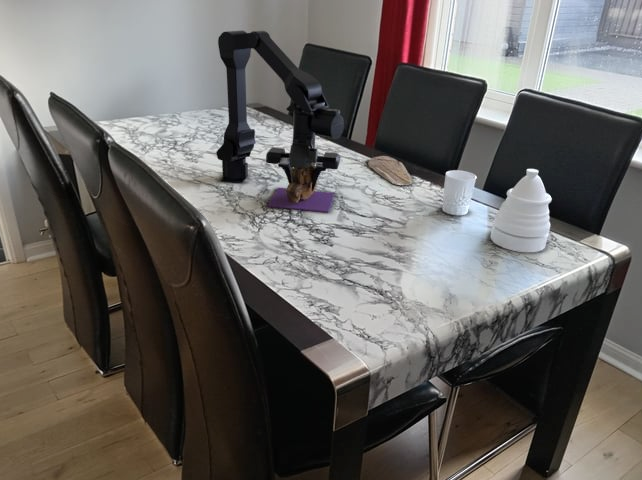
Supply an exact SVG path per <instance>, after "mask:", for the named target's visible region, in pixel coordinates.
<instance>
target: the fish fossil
mask: <svg viewBox="0 0 642 480" xmlns="http://www.w3.org/2000/svg"><path fill="white" fill-rule="evenodd" d="M367 162H368V163H367V165H368V167H369V168H370V169H372V170H373V171H374V172H376V173H377V174H378V175H379V176H380V177H382V178H383V179H385V180H386V181H387V182H389V183H390V184H392V185H396V186H409V185H412V183H413V179H412V176H411V175H410V173H409V171H408V170H407V168H406V166H405V165H404V164H403V163H402V161H398V160H397V159H395V158H393V157H390V156H387V155H380V156H375V157H371V159H369V161H367Z"/></svg>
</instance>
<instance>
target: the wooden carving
mask: <svg viewBox="0 0 642 480" xmlns="http://www.w3.org/2000/svg"><path fill="white" fill-rule="evenodd" d="M315 166H316V163H309V166H308V168H301V167H293V168H292V172H291V178H292V183H290V184H289V183H288V184H287V187H286V193H287V197H288V202H291V203H292V202H294V203H297V202H298V201H299V199H304V200H305V199H308V198H309V197H310V196H311V195H312V194H313V192H314V191H316V189H317V186H318V181H317V182H316V185H315V187H314V190H313V191H312V181H313V175H314V168H315Z"/></svg>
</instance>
